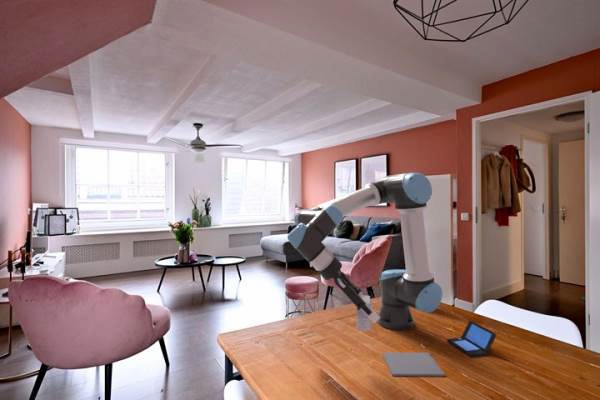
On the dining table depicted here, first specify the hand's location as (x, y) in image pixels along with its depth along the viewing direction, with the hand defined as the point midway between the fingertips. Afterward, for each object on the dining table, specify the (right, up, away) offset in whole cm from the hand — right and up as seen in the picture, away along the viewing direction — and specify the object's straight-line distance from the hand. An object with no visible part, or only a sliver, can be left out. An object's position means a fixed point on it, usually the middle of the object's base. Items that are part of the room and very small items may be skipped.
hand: (373, 314), depth 99 cm
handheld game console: (+38, -17, +12) cm, 43 cm away
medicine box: (-3, -4, 0) cm, 5 cm away
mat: (+13, -17, +1) cm, 21 cm away
